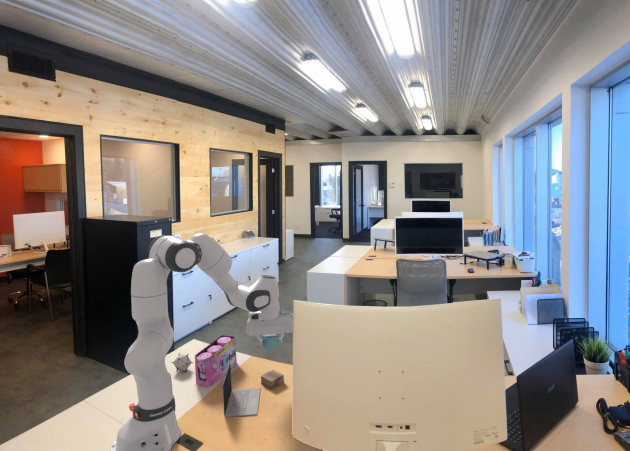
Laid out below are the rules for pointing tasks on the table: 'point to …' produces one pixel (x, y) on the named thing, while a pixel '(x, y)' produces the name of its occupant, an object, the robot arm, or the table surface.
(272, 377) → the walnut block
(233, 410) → the laptop
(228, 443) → the table surface
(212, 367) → the gum box
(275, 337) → the teal cube
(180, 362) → the grey spiked polyhedron
